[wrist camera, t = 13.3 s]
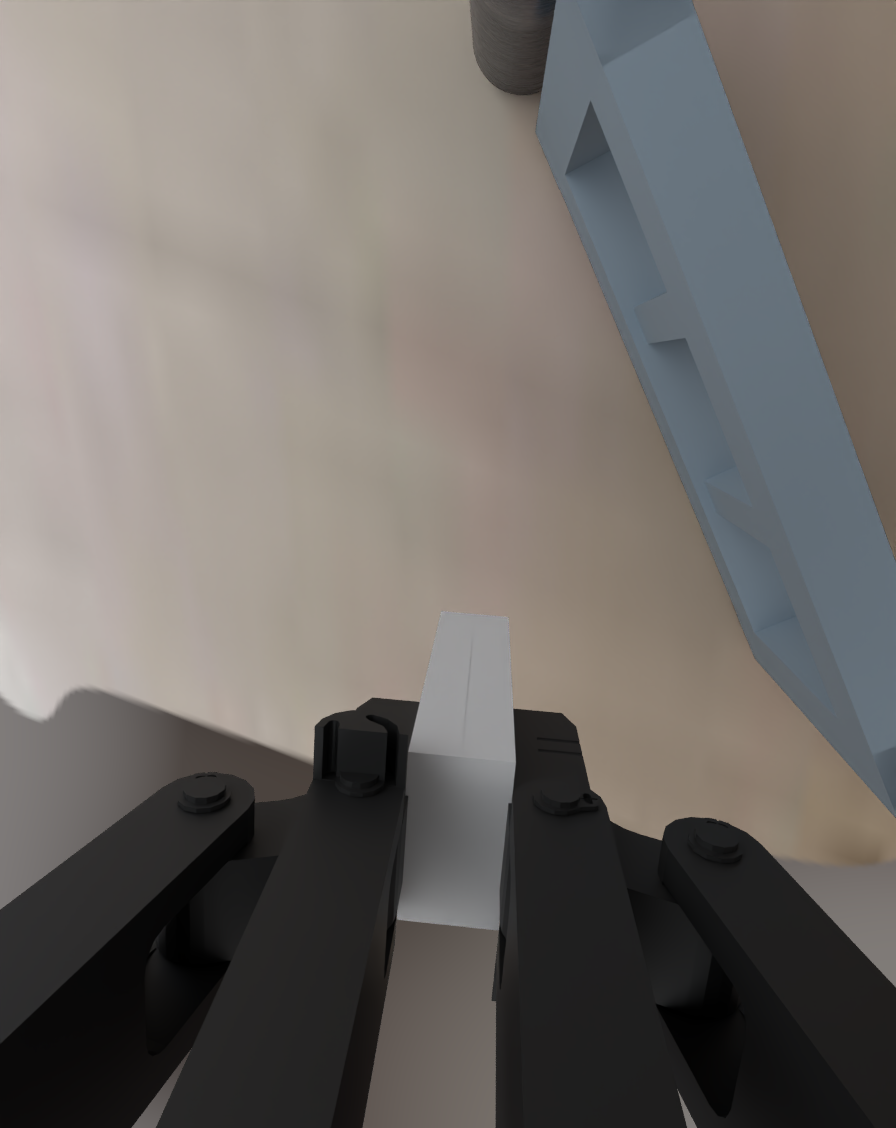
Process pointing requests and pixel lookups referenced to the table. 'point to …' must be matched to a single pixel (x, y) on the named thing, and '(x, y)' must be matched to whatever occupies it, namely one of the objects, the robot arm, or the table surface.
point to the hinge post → (512, 42)
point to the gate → (727, 359)
